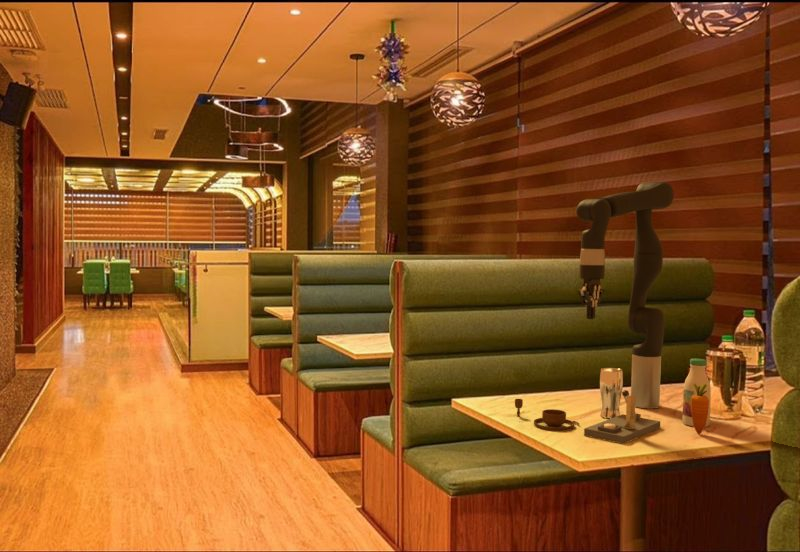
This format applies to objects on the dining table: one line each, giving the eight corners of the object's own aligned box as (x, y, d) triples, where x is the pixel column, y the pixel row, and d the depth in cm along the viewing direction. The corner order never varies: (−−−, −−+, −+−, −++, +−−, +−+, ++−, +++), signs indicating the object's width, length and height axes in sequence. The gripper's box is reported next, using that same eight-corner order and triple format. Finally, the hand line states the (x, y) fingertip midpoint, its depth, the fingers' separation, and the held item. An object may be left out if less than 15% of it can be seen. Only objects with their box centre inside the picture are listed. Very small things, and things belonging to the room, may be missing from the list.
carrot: (686, 432, 215) (688, 381, 215) (702, 431, 216) (704, 381, 215) (694, 436, 210) (696, 384, 210) (711, 436, 211) (713, 384, 210)
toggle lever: (633, 418, 222) (623, 390, 224) (639, 417, 221) (628, 389, 223) (630, 420, 221) (620, 391, 223) (636, 418, 220) (625, 389, 222)
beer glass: (622, 420, 229) (624, 372, 228) (599, 418, 230) (601, 371, 229) (620, 415, 235) (622, 368, 235) (598, 413, 237) (599, 367, 236)
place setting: (531, 434, 214) (531, 413, 213) (511, 417, 233) (511, 398, 233) (588, 432, 216) (589, 412, 216) (564, 415, 236) (564, 397, 235)
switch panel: (622, 420, 228) (622, 409, 228) (660, 427, 220) (660, 415, 220) (584, 435, 210) (584, 422, 210) (623, 443, 202) (624, 430, 202)
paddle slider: (628, 426, 212) (629, 395, 212) (636, 427, 211) (637, 396, 210) (623, 428, 210) (624, 396, 210) (631, 429, 208) (632, 398, 208)
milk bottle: (708, 422, 227) (711, 358, 226) (710, 428, 220) (712, 362, 219) (681, 420, 229) (684, 356, 228) (682, 426, 222) (685, 360, 221)
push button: (607, 427, 211) (607, 422, 211) (617, 429, 209) (617, 424, 209) (601, 429, 209) (601, 424, 208) (612, 431, 206) (612, 426, 206)
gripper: (593, 264, 223) (591, 321, 223) (613, 263, 232) (611, 318, 233) (570, 263, 228) (569, 319, 229) (591, 262, 237) (590, 316, 238)
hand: (590, 318), depth 231 cm, fingers closed
